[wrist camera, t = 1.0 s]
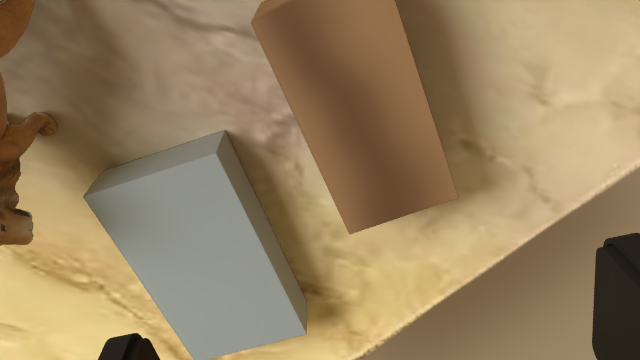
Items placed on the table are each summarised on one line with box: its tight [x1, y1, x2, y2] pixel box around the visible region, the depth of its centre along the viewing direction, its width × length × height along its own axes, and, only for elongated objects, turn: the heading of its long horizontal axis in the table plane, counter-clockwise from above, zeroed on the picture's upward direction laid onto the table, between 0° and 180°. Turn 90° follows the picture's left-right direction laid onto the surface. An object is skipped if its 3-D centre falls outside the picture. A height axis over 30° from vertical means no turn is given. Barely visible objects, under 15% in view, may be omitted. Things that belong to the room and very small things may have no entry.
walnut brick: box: [251, 0, 458, 235], centre depth 26 cm, size 6×12×5 cm, turn 22°
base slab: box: [83, 130, 307, 360], centre depth 32 cm, size 8×14×3 cm, turn 19°
